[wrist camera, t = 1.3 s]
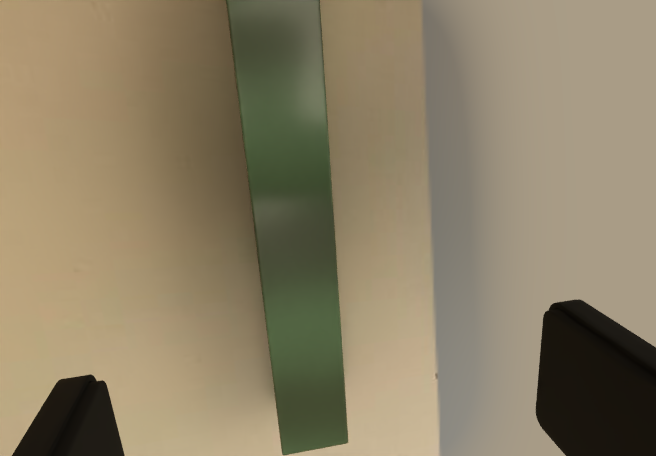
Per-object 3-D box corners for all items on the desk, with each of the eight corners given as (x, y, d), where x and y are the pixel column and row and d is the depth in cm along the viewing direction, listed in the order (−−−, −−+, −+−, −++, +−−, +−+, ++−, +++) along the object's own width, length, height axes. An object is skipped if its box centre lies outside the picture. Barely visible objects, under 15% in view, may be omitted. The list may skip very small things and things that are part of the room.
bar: (222, -34, 18) (218, -62, 14) (300, -37, 18) (316, -65, 15) (276, 397, 24) (282, 456, 21) (332, 388, 25) (348, 443, 21)
